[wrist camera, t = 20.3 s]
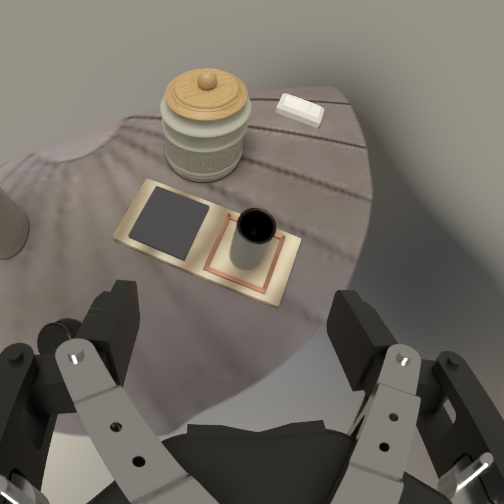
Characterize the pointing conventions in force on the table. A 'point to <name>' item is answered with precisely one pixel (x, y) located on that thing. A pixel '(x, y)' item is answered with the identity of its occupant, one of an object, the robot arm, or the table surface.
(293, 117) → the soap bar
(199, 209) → the pad
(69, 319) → the supplement bottle
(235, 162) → the jar
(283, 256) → the board
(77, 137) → the table surface
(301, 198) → the table surface
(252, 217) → the grey tumbler
